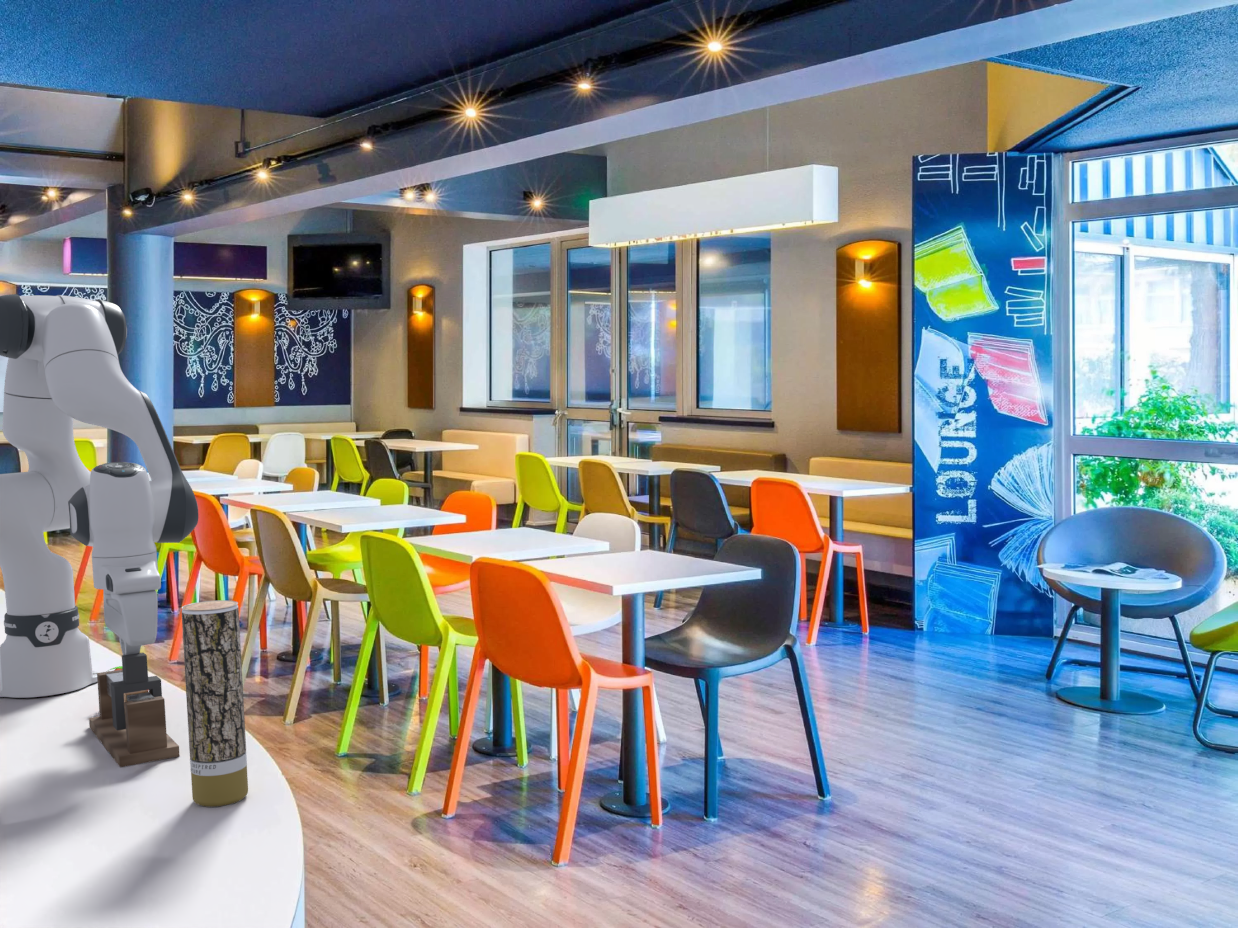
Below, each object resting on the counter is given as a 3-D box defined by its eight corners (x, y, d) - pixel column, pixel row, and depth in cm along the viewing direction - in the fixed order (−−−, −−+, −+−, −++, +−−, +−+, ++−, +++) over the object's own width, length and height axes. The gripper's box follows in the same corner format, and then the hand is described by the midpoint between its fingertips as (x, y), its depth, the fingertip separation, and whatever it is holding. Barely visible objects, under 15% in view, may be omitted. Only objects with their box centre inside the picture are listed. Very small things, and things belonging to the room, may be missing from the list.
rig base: (89, 727, 189) (86, 673, 188) (143, 718, 193) (140, 665, 192) (120, 767, 168) (116, 707, 167) (179, 756, 172) (176, 697, 171)
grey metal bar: (105, 692, 188) (104, 672, 188) (126, 689, 190) (125, 669, 190) (134, 723, 170) (132, 701, 170) (157, 719, 171) (155, 698, 171)
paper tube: (231, 809, 149) (220, 610, 147) (181, 807, 150) (170, 610, 149) (258, 791, 156) (248, 600, 154) (210, 789, 157) (200, 600, 155)
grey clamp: (113, 725, 175) (108, 656, 174) (159, 717, 178) (155, 650, 178) (117, 730, 172) (112, 660, 172) (163, 722, 176) (159, 653, 175)
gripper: (90, 568, 184) (96, 657, 184) (115, 583, 166) (122, 682, 167) (134, 563, 187) (139, 651, 188) (163, 578, 170) (169, 674, 171)
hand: (131, 666), depth 177 cm, fingers closed
